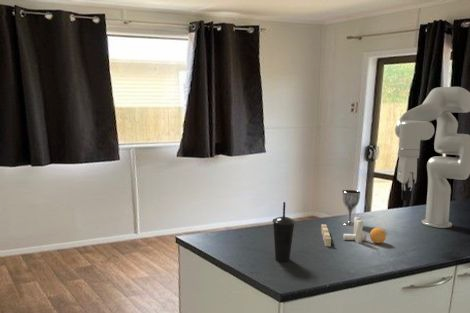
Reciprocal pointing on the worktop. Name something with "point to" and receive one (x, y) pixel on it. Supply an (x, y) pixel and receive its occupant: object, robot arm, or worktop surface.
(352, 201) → the wine glass
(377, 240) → the ball
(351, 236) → the front pin
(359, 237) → the pin
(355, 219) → the pin
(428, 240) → the worktop surface
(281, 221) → the drinking cup
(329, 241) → the back wall
